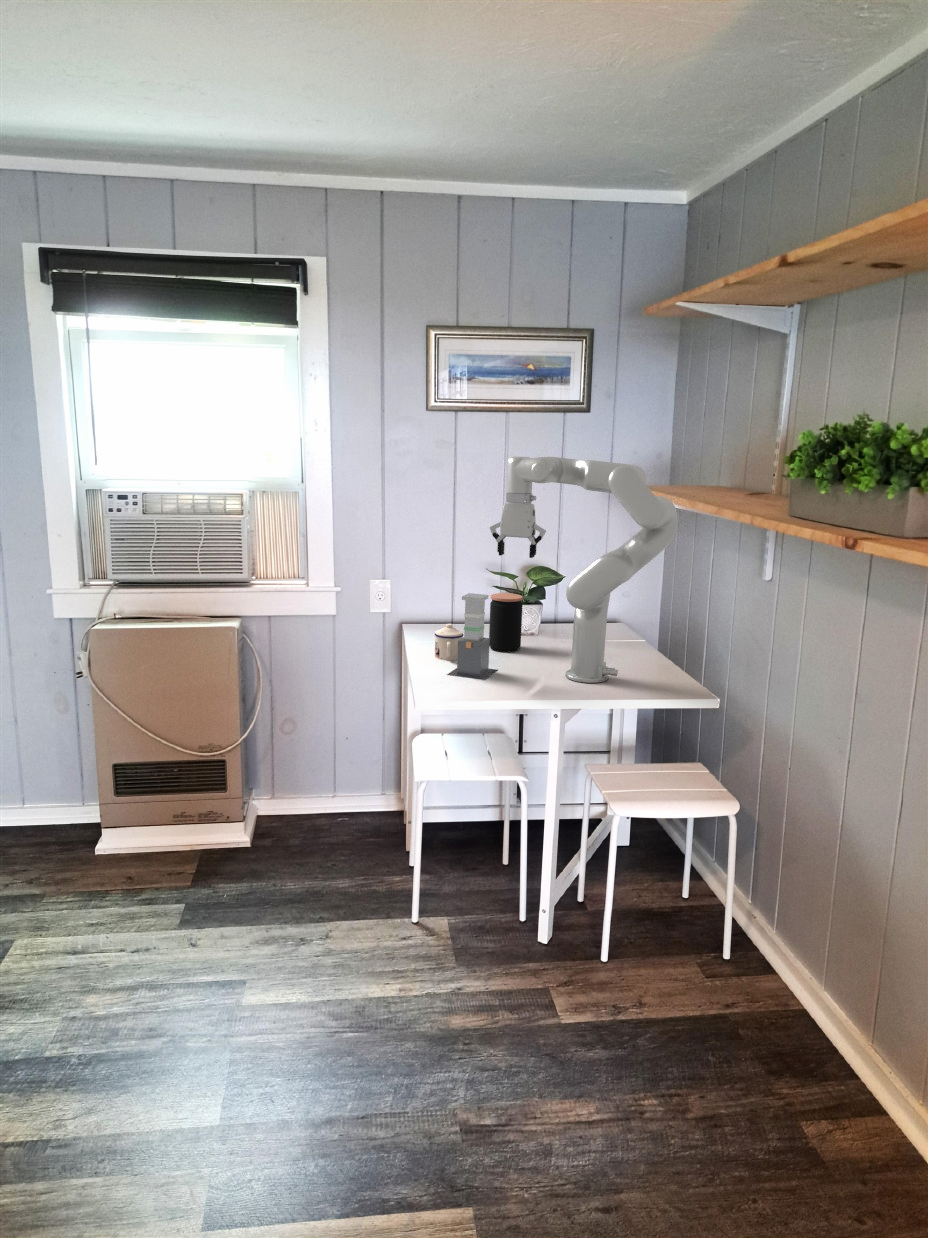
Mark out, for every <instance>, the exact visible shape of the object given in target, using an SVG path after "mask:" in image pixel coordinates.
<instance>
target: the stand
mask: <svg viewBox="0 0 928 1238" xmlns="http://www.w3.org/2000/svg"><path fill="white" fill-rule="evenodd" d="M489 640H490V638H489V637H484V640H482V641H480V642H473V641H465V640H464V636H463V638H462V639H460V640H458V656H457V660H456V661H457V662H456V665H457V666H456V668H454V669H453V670H452V671H450V672H448V673H447V674H446V676H452V677H458V678H459V677H460V678H467V679H474V680H482V681H486V680H487V679H489V678H490V677H491V676H493V675H494V674H495V673H496V672H498V671H499V669H493V668H489V664H490V663H489V662H490V646H489Z"/></svg>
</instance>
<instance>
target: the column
mask: <svg viewBox="0 0 928 1238" xmlns="http://www.w3.org/2000/svg"><path fill="white" fill-rule="evenodd" d="M488 599H489V594H481V593H471V592H468V593H467V594H465V595H462V596H461V600H462V601H464V603H465V605H464V615H463V616H464V627H463V634H464V635H463V637H464V640H465V641H473V642H480V641H482V640H484V638H485V637H484V636H485V635H484V633H485V632H484V631H485V615H486V612H485V606H486V605H485V602H486V600H488Z"/></svg>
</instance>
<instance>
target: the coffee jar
mask: <svg viewBox="0 0 928 1238" xmlns="http://www.w3.org/2000/svg"><path fill="white" fill-rule="evenodd" d="M523 598H524V597H523V595H521V594H518V593H517V594H516V593H510V592H509V593H508V592H501V593H500V592H499V593H493V594H491V595H490V599H491V601H490V605H489V607H490V608H489V629H488V631H489V633H488V638H490V640H489V649H490V650H492V651H494V652H498V653H513V652H517V651H519V650H520V648H521V647H522V625H523V624H522V623H523V602H522V600H524V599H523Z"/></svg>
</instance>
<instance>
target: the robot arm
mask: <svg viewBox="0 0 928 1238" xmlns="http://www.w3.org/2000/svg"><path fill="white" fill-rule="evenodd" d="M506 470H507V473H506V496H505V497H506V498H505V502H504V503H503V507H502V511H501V517H500V521H499V522H498V523H495V524H493V525H491V526H490V527H489V530H490V532H491V535H492V537H493V538H494V539H495V540H496V542H497V548H496V549H497V550H496V551H497V553H498V556H503V555H505V541H504V540H505V538H506V537H508V538H521V539H522V538H523V539H524V538H525V539H528V541H529V542H530V544H529V553H528V554H529V558H530V559H532V558H535V556H536V555H537V545H538V543H540V542H541V540H542V539H543V538H544V537H545V535H546V533H547V530H546V529H544V528H543V527H542V526H540V525H538V524H537V521H536V519H537V517H536V509H535V504H534V503H533V501H537V496H536V495H533V483H535V484H546V483H547V484H551V483H555V484H556V483H557V484H563V485H564V484H565V485H571V486H572V485H573V486H577V487H581V488H583V489H584V490H586V491H590V492H591V491H592V492H599V493H607V494H613V495H614V497H615V498H616V499H617V501H618V503H620V505H621V506H622V507H623V508H624V509H625V511H626V512H627V513H628V514H629V516H630V517H631V518H632V519H633V520H634V522H635V523H636V524H637V525H638V526H639V527H641V529H640V530H639V531H638V532H637V533H634V534H633V535H632V537H630V538H629V539H628V540H627V541H625V543H623V544H622V545H621V546H619V547H618V548H616V549H614V550H611V551H609V552H607V553H604V554H603V555H601V556H600V557H597V559H595V560H594V562H592V563H591V564H590V565H589V566H588V567H586V568H585V569H584V570H583V571H581V572H580V573H579V574H577V575H576V576H575V577H574V578H573V579H571V581H569V583H568V586H567V587H566V592H565V594H566V595H565V596H566V600H567V602H568V603H569V605H570V606H571V607H572V608H575V609H574V613H573V614H574V615H573V616H574V617H573V628H572V629H573V630H572V645H571V663H570V669H567V670H566V671H565V677H566V678H567V679H569V680H571V681H574V682H578V683H589V684H594V683H595V684H596V683H603V682H606V681H607V680H608V679H609V676H612V677H618V674H619V669H616V668H615V667H608V666H607V662H605V651H606V635H607V622H608V621H607V620H608V613H609V611H608V610H609V605H610V600H611V593H612V592H613V591H615V590H616V589H617V588H619V587H620V586H621V585H622V584H624V583H627V582H628V581H629V580H631V578H632V577H634V576H635V575H636V574H637V573H638V572H639V571H641V569H643V568H644V567H646V565H648V564H649V563H650V562H651V561H652V560H654V558H656V557H657V556H659V554H661V553H662V552H663V551H664V550H665V549H666V548H667V546H668V545H670V543H671V542H672V540H673V538H674V537H675V534H676V532H677V529H678V523H679V522H678V521H679V520H678V519H679V518H678V517H679V516H678V510H677V509H676V506H675V504H674V503H673V501H672V500H671V499H669V498H668V497H665V496H661V495H660V496H658V495H657V496H656V495H655V494H654V492H652V490H650V488H649V487H648V486H647V481H648V480H647V474H646V471H645V470H644V469H643V468H642V467H641V466H639V465H635V464H631V463H630V464H628V463H621V462H612V461H604V460H603V461H601V460H593V459H588V460H587V459H585V460H583V459H574V458H566V457H560V456H559V457H557V456H538V457H537V456H536V457H530V456H511V457H509V458H508V460H507V469H506ZM498 528H499V532H500V534H499V533H498V532H497V529H498ZM536 531H537V532H539V534H538V536H537V537H535V536H536Z"/></svg>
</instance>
